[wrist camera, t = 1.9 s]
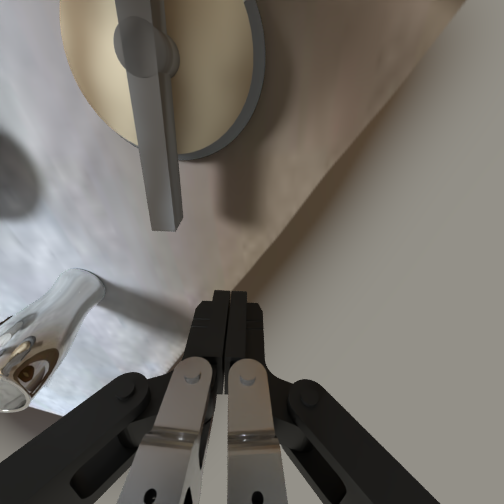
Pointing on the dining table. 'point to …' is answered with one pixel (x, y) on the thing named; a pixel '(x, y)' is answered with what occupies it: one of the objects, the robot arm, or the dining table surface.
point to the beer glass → (43, 336)
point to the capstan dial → (161, 79)
